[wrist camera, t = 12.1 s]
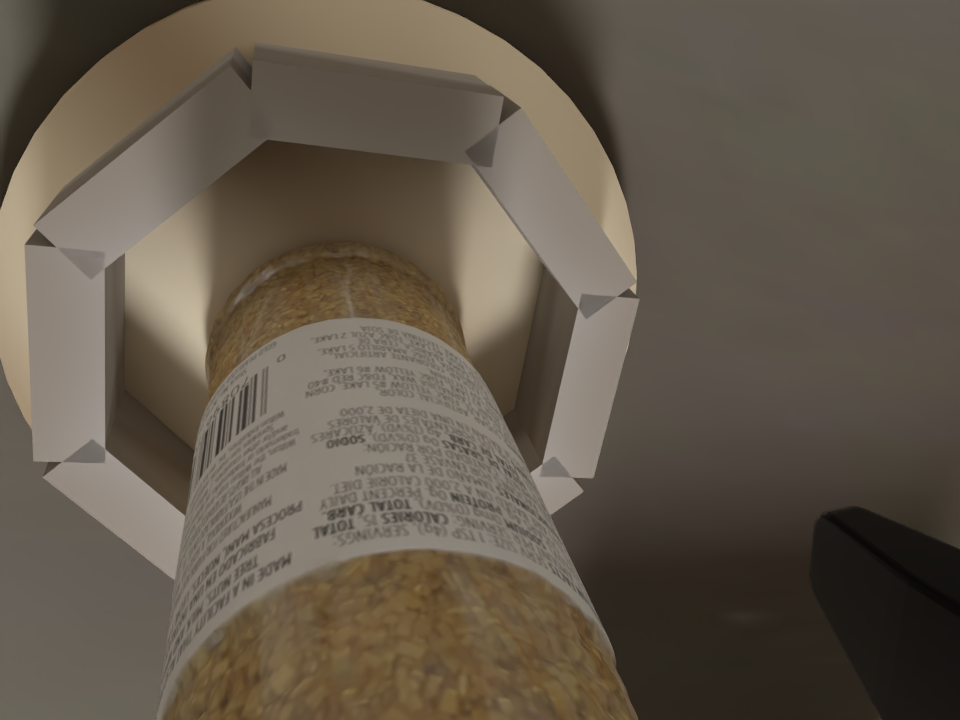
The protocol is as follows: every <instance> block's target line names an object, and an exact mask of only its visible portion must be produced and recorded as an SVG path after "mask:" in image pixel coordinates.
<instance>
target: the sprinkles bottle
mask: <svg viewBox="0 0 960 720" xmlns="http://www.w3.org/2000/svg"><path fill="white" fill-rule="evenodd" d="M205 370H206V380H207V386H208V396H207V405H206V410H205V412H204V415H203V417H202V420H201V423H200V427H199V431H198V435H197V440H196V446H195V452H194V458H193V465H192V473H191V481H190V488H189V495H188V502H187V509H186V515H185V521H184V527H183V533H182V539H181V545H180V551H179V557H178V563H177V570H176V577H175V584H174V590H173V597H172V605H171V614H170V623H169V631H168V638H167V645H166V652H165V659H164V667H163V674H162V681H161V688H160V695H159V702H158V709H157V716H156V720H638V717H637V715H636V712H635V710H634V708H633V706H632V704H631V702H630V699H629V696H628V693H627V690H626V688H625V686H624V684H623V682H622V680H621V678H620V676H619V674H618V672H617V670H616V660H615V655H614V650H613V648H612V645H611V643H610V640H609V638H608V636H607V634H606V632H605V630H604V628H603V626H602V624H601V621H600V619H599V617H598V615H597V613H596V611H595V609H594V607H593V605H592V602H591V600H590V598H589V596H588V594H587V592H586V590H585V588H584V586H583V584H582V581H581V579H580V577H579V575H578V573H577V571H576V569H575V567H574V565H573V563H572V561H571V558H570V556H569V554H568V552H567V550H566V548H565V546H564V544H563V542H562V540H561V538H560V535H559V533H558V531H557V529H556V527H555V525H554V523H553V521H552V519H551V516H550V514H549V512H548V510H547V508H546V506H545V504H544V501H543V499H542V497H541V495H540V493H539V491H538V489H537V487H536V484H535V482H534V480H533V478H532V476H531V474H530V472H529V470H528V468H527V466H526V463H525V461H524V459H523V457H522V455H521V453H520V451H519V449H518V447H517V445H516V443H515V441H514V439H513V437H512V435H511V433H510V431H509V429H508V427H507V425H506V423H505V421H504V418H503V416H502V414H501V412H500V410H499V408H498V406H497V404H496V402H495V400H494V398H493V396H492V394H491V392H490V390H489V389H488V387H487V385H486V384H485V382H484V380H483V379H482V377H481V376H480V374H479V373H478V372H477V371H476V370H475V368H474V366H473V363H472V361H471V359H470V357H469V355H468V353H467V349H466V344H465V338H464V334H463V330H462V327H461V324H460V321H459V318H458V316H457V315H456V313H455V312H454V310H453V308H452V306H451V304H450V302H449V300H448V298H447V296H446V294H445V292H444V291H443V289H442V288H441V286H440V285H439V284H438V283H437V282H435V281H434V280H433V279H431V278H430V277H429V276H427V275H426V274H425V273H424V272H423V271H422V270H421V269H419V268H418V267H417V266H416V265H415V264H413V263H411V262H410V261H407V260H405V259H403V258H401V257H400V256H398V255H396V254H394V253H392V252H390V251H389V250H385V249H382V248H378V247H374V246H368V245H364V244H360V243H356V242H353V241H348V242H332V243H320V244H315V245H311V246H308V247H305V248H299V249H295V250H291V251H288V252H286V253H285V254H283V255H281V256H279V257H277V258H274V259H272V260H270V261H268V262H266V263H265V264H263V265H262V266H260V267H258V268H257V269H255V270H254V271H252V272H251V273H250V274H249V275H248V276H247V277H246V278H245V280H244V281H243V282H242V284H240V285H239V286H238V287H237V288H236V289H235V290H234V291H233V292H232V293H231V294H230V296H229V298H228V299H227V302H226V304H225V306H224V307H223V309H222V310H221V311H220V313H218V315H217V317H216V318H215V321H214V323H213V326H212V329H211V332H210V335H209V344H208V348H207V352H206V358H205Z"/></svg>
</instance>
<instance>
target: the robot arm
mask: <svg viewBox="0 0 960 720" xmlns="http://www.w3.org/2000/svg"><path fill="white" fill-rule="evenodd" d="M809 576H810V583H811V587H812V590H813V593H814V595H815V597H816V599H817V601H818V603H819V605H820V607H821V609H822V610H823V612H824V614H825V616H826V618H827V620H828V622H829V623H830V625H831V627H832V629H833V631H834V633H835V635H836V636H837V638H838V640H839V642H840V644H841V646H842V648H843V649H844V651H845V653H846V655H847V657H848V659H849V661H850V662H851V664H852V666H853V668H854V670H855V672H856V674H857V675H858V677H859V679H860V681H861V683H862V685H863V687H864V688H865V690H866V692H867V694H868V696H869V698H870V700H871V701H872V703H873V705H874V707H875V708H876V710H877V712H878V714H879V715H880V717H881V719H882V720H960V549H959V548H956V547H954V546H952V545H949V544H947V543H945V542H942V541H940V540H937V539H935V538H933V537H930V536H928V535H926V534H923V533H921V532H918V531H916V530H914V529H911V528H909V527H907V526H904V525H902V524H899V523H897V522H895V521H892V520H890V519H888V518H885V517H883V516H881V515H878V514H876V513H873V512H871V511H869V510H866V509H864V508H861V507H858V506H848V507H843V508H839V509H834V510H829V511H825V512H823V513H821V514H819V515H818V517H817V519H816V520H815V525H814V532H813V542H812V551H811V560H810V570H809Z"/></svg>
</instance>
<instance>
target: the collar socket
mask: <svg viewBox="0 0 960 720" xmlns="http://www.w3.org/2000/svg"><path fill="white" fill-rule="evenodd" d="M348 241H353V242H356V243H360V244H364V245H368V246H374V247H378V248H382V249H385V250H389V251H390V252H392V253H394V254H396V255H398V256H400V257H401V258H403V259H405V260H407V261H410V262H411V263H413V264H415V265H416V266H417V267H418V268H419V269H421V270H422V271H423V272H424V273H425V274H426V275H427V276H429V277H430V278H431V279H433V280H434V281H435V282H437V283H438V284H439V285H440V286H441V288H442V289H443V291H444V292H445V294H446V296H447V298H448V300H449V302H450V304H451V306H452V308H453V310H454V312H455V313H456V315H457V316H458V318H459V321H460V324H461V327H462V330H463V334H464V338H465V344H466V349H467V353H468V355H469V357H470V359H471V361H472V363H473V366H474V368H475V370H476V371H477V372H478V373H479V374H480V376H481V377H482V379H483V380H484V382H485V384H486V385H487V387H488V389H489V390H490V392H491V394H492V396H493V398H494V400H495V402H496V404H497V406H498V408H499V410H500V412H501V414H502V416H503V418H504V421H505V423H506V425H507V427H508V429H509V431H510V433H511V435H512V437H513V439H514V441H515V443H516V445H517V447H518V449H519V451H520V453H521V455H522V457H523V459H524V461H525V463H526V466H527V468H528V470H529V472H530V474H531V476H532V478H533V480H534V482H535V484H536V487H537V489H538V491H539V493H540V495H541V497H542V499H543V501H544V504H545V506H546V508H547V510H548V512H549V514H550V515H551V514H553V513H554V512H556V511H557V510H558V509H560V508H561V507H563V506H564V505H565V504H567V503H568V502H570V501H571V500H572V499H574V498H575V497H577V496H578V495H580V494H581V493H582V492H584V491H583V489H582V487H581V485H580V484H579V482H578V480H577V478H594V474H595V470H596V466H597V462H598V458H599V455H600V451H601V447H602V443H603V439H604V435H605V431H606V427H607V424H608V420H609V416H610V412H611V408H612V404H613V400H614V397H615V393H616V389H617V385H618V381H619V377H620V373H621V369H622V366H623V362H624V358H625V355H626V351H627V348H628V344H629V339H630V335H631V331H632V327H633V323H634V319H635V315H636V311H637V308H638V304H639V300H640V299H639V298H638V297H637V296H636V283H637V272H636V259H635V246H634V237H633V232H632V228H631V223H630V218H629V214H628V209H627V204H626V201H625V198H624V196H623V193H622V190H621V187H620V185H619V182H618V179H617V176H616V174H615V171H614V168H613V166H612V164H611V162H610V160H609V158H608V156H607V155H606V153H605V151H604V149H603V147H602V145H601V143H600V141H599V140H598V138H597V136H596V134H595V132H594V131H593V129H592V128H591V126H590V125H589V124H588V122H587V121H586V120H585V118H584V117H583V115H582V114H581V113H580V111H579V110H578V109H577V107H576V106H575V105H574V103H573V102H572V100H571V99H570V98H569V97H568V96H567V95H566V94H565V93H564V92H563V91H562V90H561V89H560V88H559V87H558V85H557V84H556V83H555V82H554V81H553V80H552V79H551V78H550V77H549V76H548V75H547V74H546V73H545V72H544V71H543V70H542V69H541V68H540V67H539V66H537V65H536V64H535V63H533V62H532V61H531V60H530V59H528V58H527V57H526V56H524V55H523V54H522V53H521V52H519V51H518V50H517V49H515V48H514V47H513V46H511V45H510V44H509V43H508V42H506V41H505V40H503V39H501V38H500V37H498V36H496V35H494V34H493V33H491V32H489V31H487V30H486V29H484V28H482V27H480V26H479V25H477V24H475V23H473V22H472V21H470V20H468V19H466V18H464V17H462V16H460V15H458V14H456V13H454V12H451V11H449V10H446V9H444V8H441V7H439V6H436V5H434V4H431V3H429V2H426V1H424V0H204V1H201V2H198V3H195V4H192V5H189V6H186V7H184V8H182V9H180V10H178V11H176V12H174V13H172V14H171V15H169V16H167V17H165V18H163V19H161V20H159V21H157V22H155V23H153V24H151V25H149V26H147V27H145V28H144V29H142V30H141V31H139V32H138V33H137V34H135V35H134V36H132V37H131V38H130V39H128V40H127V41H125V42H124V43H123V44H121V45H120V46H118V47H117V48H115V49H114V50H113V51H111V52H110V53H108V54H107V55H106V56H105V57H103V58H102V59H101V60H100V61H98V62H97V63H96V64H95V65H94V66H93V67H92V68H91V69H90V70H89V71H88V72H87V73H86V74H85V75H84V76H83V77H82V78H81V79H80V80H79V81H78V82H77V83H76V84H75V85H73V86H72V87H71V88H70V89H69V90H68V91H67V92H66V93H65V94H64V95H63V96H62V98H61V99H60V100H59V102H58V103H57V104H56V106H55V107H54V108H53V109H52V111H51V112H50V113H49V115H48V116H47V117H46V119H45V120H44V121H43V123H42V124H41V125H40V127H39V128H38V129H37V131H36V132H35V133H34V135H33V137H32V139H31V141H30V143H29V145H28V146H27V148H26V150H25V152H24V154H23V156H22V158H21V159H20V161H19V163H18V165H17V167H16V169H15V171H14V172H13V175H12V178H11V181H10V184H9V186H8V189H7V192H6V195H5V198H4V201H3V204H2V207H1V209H0V358H1V362H2V365H3V368H4V372H5V375H6V378H7V382H8V384H9V386H10V388H11V390H12V392H13V395H14V397H15V399H16V401H17V403H18V405H19V407H20V410H21V412H22V414H23V416H24V418H25V420H26V421H27V423H28V424H29V426H30V427H31V429H32V438H33V461H43V462H49V463H48V465H47V467H46V470H45V472H44V475H43V478H44V479H45V480H47V481H48V482H49V483H50V484H52V485H53V486H54V487H56V488H57V489H58V490H59V491H61V492H62V493H63V494H65V495H66V496H67V497H68V498H70V499H71V500H72V501H74V502H75V503H76V504H77V505H79V506H80V507H81V508H83V509H84V510H85V511H86V512H88V513H89V514H90V515H91V516H93V517H94V518H95V519H97V520H98V521H99V522H100V523H102V524H103V525H104V526H106V527H107V528H108V529H109V530H111V531H112V532H113V533H115V534H116V535H117V536H118V537H120V538H121V539H122V540H124V541H125V542H126V543H127V544H129V545H130V546H131V547H133V548H134V549H135V550H136V551H138V552H139V553H140V554H142V555H143V556H144V557H145V558H147V559H148V560H149V561H151V562H152V563H153V564H154V565H156V566H157V567H158V568H160V569H161V570H162V571H163V572H165V573H166V574H167V575H168V576H170V577H171V578H172V579H174V580H175V577H176V570H177V563H178V557H179V551H180V545H181V539H182V533H183V527H184V521H185V515H186V509H187V502H188V495H189V488H190V481H191V473H192V465H193V458H194V452H195V446H196V440H197V435H198V431H199V427H200V423H201V420H202V417H203V415H204V412H205V410H206V405H207V396H208V386H207V380H206V370H205V358H206V352H207V348H208V344H209V335H210V332H211V329H212V326H213V323H214V321H215V318H216V317H217V315H218V313H220V311H221V310H222V309H223V307H224V306H225V304H226V302H227V299H228V298H229V296H230V294H231V293H232V292H233V291H234V290H235V289H236V288H237V287H238V286H239V285H240V284H242V282H243V281H244V280H245V278H246V277H247V276H248V275H249V274H250V273H251V272H252V271H254V270H255V269H257V268H258V267H260V266H262V265H263V264H265V263H266V262H268V261H270V260H272V259H274V258H277V257H279V256H281V255H283V254H285V253H286V252H288V251H291V250H295V249H299V248H305V247H308V246H311V245H315V244H320V243H332V242H348Z"/></svg>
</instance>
